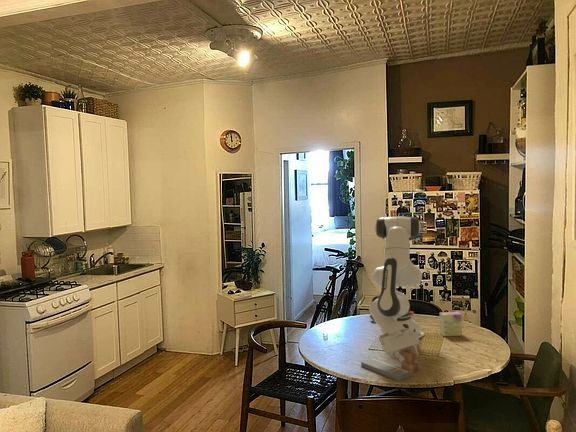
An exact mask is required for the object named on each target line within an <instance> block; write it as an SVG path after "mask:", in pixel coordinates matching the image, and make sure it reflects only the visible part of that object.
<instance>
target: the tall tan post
mask: <svg viewBox="0 0 576 432" xmlns="http://www.w3.org/2000/svg"><path fill="white" fill-rule="evenodd" d="M418 353H419V352H415V351H413V350H412V349H407V350H404V351H401V352H400V355H401V356H404V358H405V361H403V362H401V361H400V366H401V367H400V368H403V369H405V370H408V371H411V374H412V373H414V372H417V371H419V365H418V363H419V362H418V361H419V360H418V358H419V357H418V356H419V355H418Z"/></svg>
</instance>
